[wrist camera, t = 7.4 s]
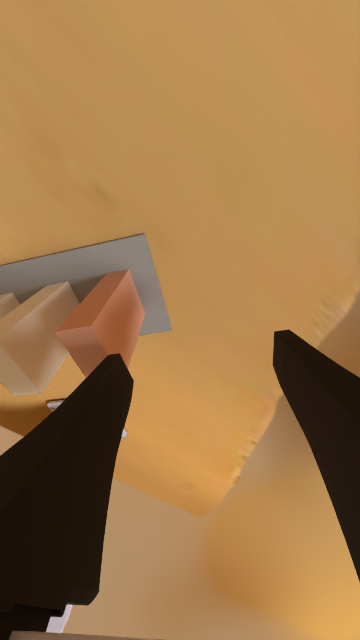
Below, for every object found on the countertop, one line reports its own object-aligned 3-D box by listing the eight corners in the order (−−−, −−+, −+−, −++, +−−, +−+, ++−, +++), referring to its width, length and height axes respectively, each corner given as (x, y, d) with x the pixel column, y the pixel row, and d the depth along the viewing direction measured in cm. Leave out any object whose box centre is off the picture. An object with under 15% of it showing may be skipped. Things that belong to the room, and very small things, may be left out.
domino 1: (90, 323, 20) (41, 393, 13) (71, 326, 20) (14, 396, 14) (67, 281, 18) (-5, 340, 11) (46, 285, 18) (-36, 346, 11)
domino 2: (145, 314, 19) (122, 383, 13) (125, 317, 20) (92, 387, 13) (128, 269, 17) (91, 325, 10) (106, 273, 17) (55, 331, 11)
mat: (171, 328, 21) (171, 330, 20) (-53, 362, 24) (-56, 365, 24) (144, 233, 16) (143, 234, 15) (-130, 294, 20) (-136, 296, 19)
